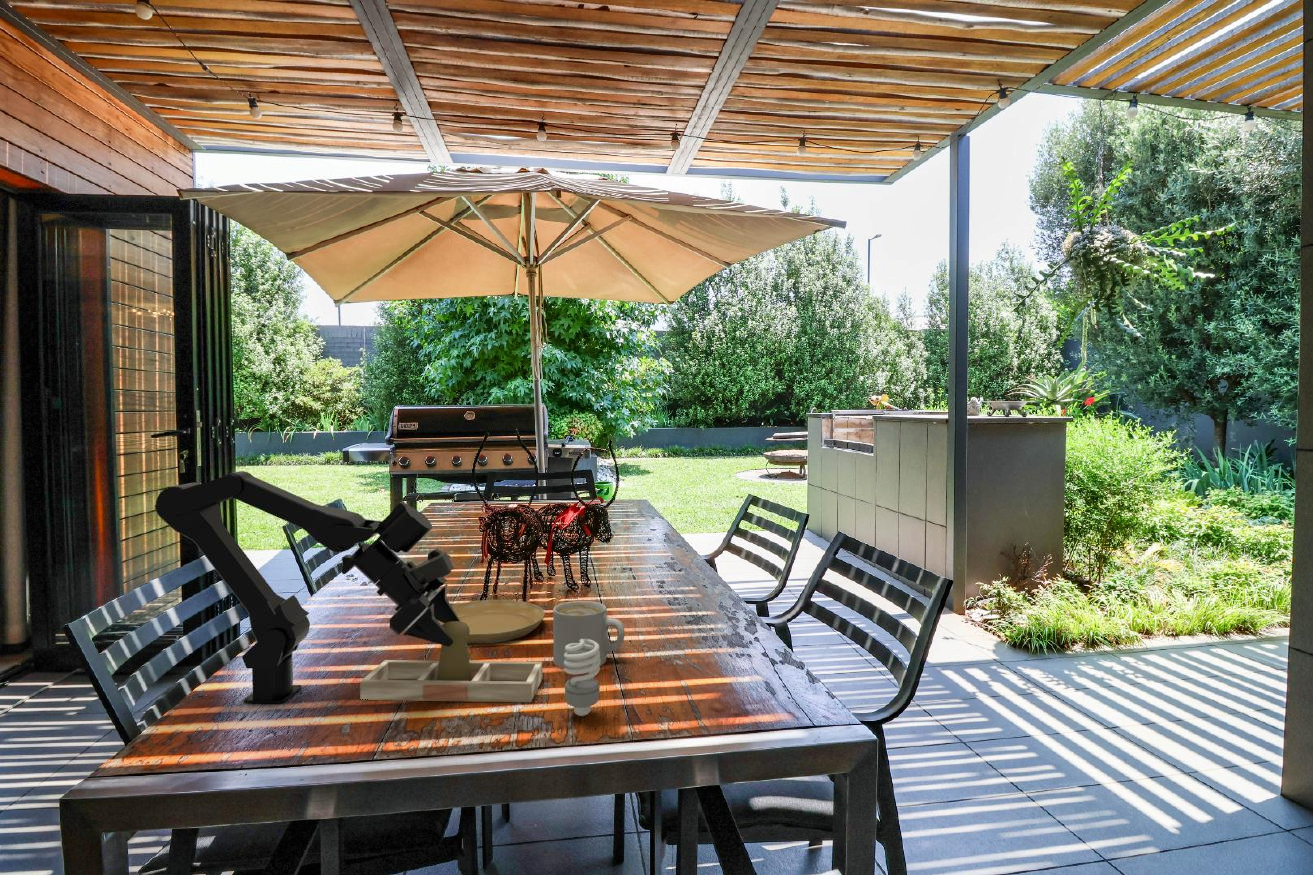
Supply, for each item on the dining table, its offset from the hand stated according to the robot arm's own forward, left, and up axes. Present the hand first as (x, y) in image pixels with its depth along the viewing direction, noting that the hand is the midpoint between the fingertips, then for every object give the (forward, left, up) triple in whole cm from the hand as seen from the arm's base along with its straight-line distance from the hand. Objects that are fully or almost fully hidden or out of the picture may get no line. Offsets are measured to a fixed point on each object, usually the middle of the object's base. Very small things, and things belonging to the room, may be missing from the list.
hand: (456, 635), depth 121 cm
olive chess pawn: (0, 0, -9) cm, 9 cm away
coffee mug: (+14, -21, -9) cm, 27 cm away
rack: (0, 0, -9) cm, 9 cm away
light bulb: (-10, -23, -9) cm, 27 cm away
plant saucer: (+33, +3, -10) cm, 35 cm away
